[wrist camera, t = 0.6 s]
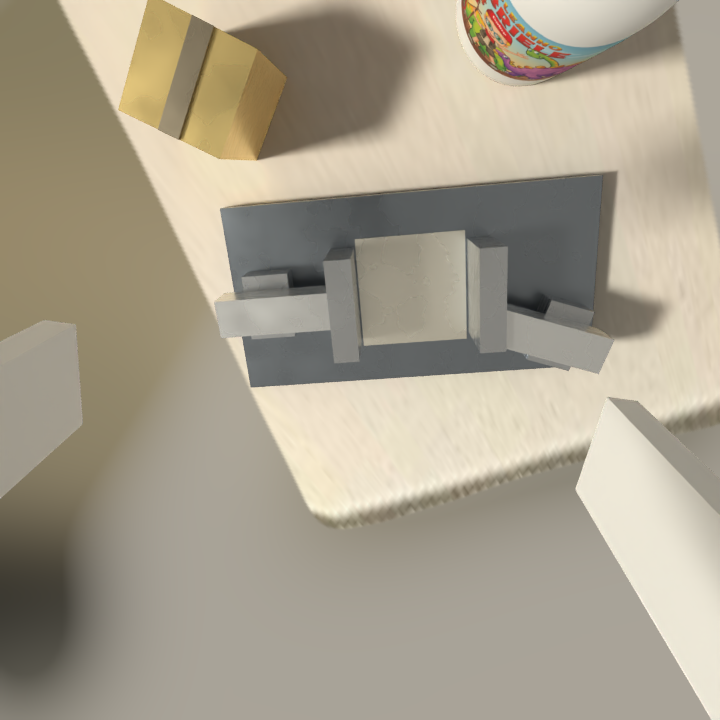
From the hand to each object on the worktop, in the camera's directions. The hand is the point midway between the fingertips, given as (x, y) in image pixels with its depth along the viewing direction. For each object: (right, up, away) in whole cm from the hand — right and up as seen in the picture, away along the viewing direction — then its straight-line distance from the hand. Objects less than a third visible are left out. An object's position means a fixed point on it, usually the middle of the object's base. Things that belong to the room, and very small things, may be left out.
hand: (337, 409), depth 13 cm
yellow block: (-7, +17, +18) cm, 26 cm away
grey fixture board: (+4, +6, +21) cm, 23 cm away
